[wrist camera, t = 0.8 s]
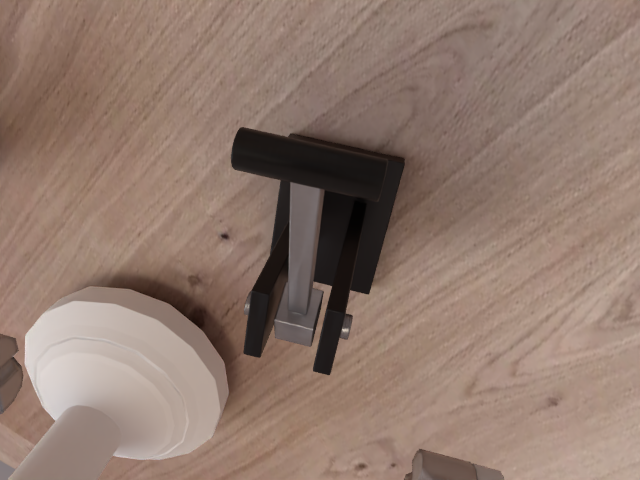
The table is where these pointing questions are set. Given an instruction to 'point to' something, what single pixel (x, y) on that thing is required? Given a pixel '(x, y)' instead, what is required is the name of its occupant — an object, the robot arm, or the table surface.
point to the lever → (305, 210)
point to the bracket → (326, 259)
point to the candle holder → (119, 383)
